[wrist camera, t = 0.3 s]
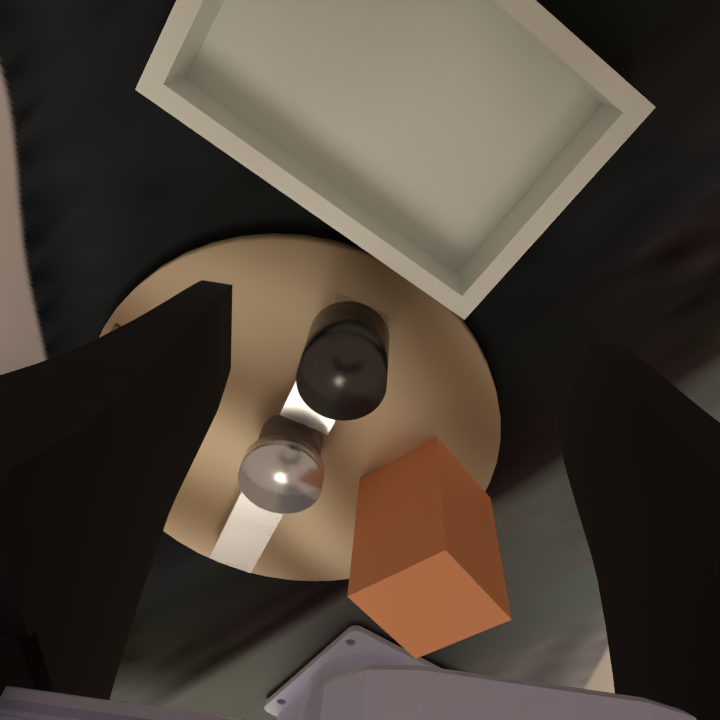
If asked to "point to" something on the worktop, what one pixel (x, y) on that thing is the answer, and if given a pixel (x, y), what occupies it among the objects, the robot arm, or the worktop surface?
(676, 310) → the worktop surface
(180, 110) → the tray
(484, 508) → the block
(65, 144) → the worktop surface
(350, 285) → the crank plate
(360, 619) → the worktop surface
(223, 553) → the dark grey cylinder
